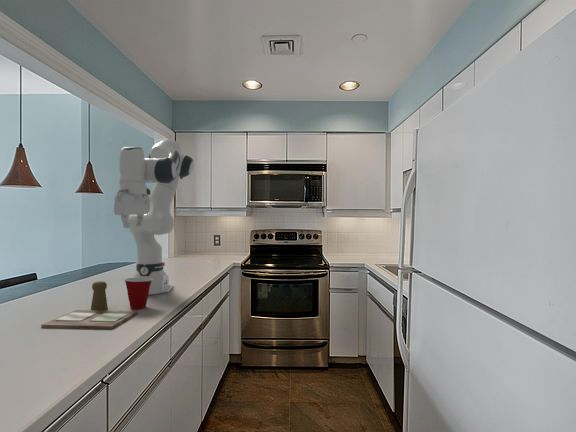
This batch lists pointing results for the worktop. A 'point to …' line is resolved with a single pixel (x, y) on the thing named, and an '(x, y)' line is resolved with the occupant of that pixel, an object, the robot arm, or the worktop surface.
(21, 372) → the worktop surface
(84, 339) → the worktop surface
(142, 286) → the plastic cup
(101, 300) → the cork
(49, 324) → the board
